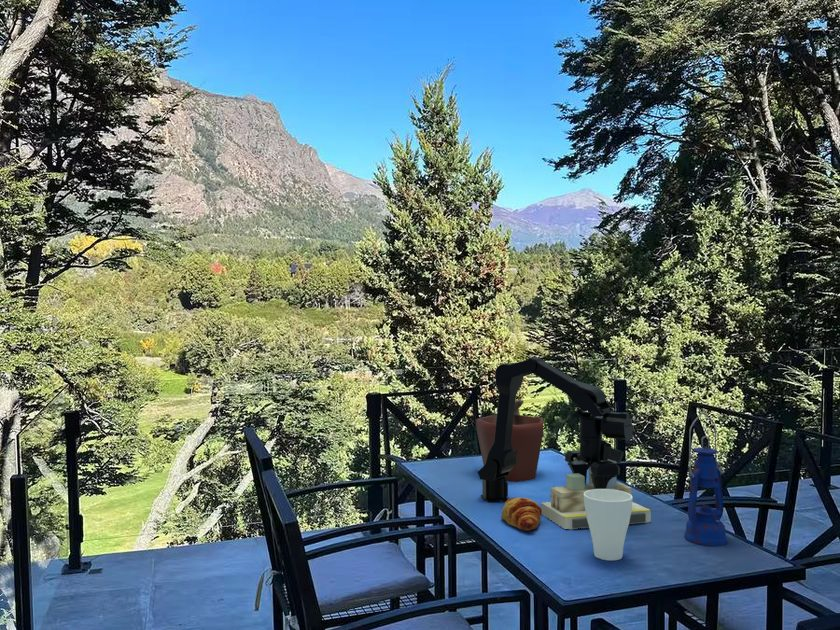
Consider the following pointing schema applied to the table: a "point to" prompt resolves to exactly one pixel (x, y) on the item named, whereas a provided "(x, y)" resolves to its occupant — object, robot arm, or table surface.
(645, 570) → the table surface
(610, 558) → the cup
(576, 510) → the wooden block
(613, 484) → the blue-grey cube
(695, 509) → the lantern
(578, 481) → the grey-green cube
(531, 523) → the croissant
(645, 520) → the dock
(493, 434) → the bucket
